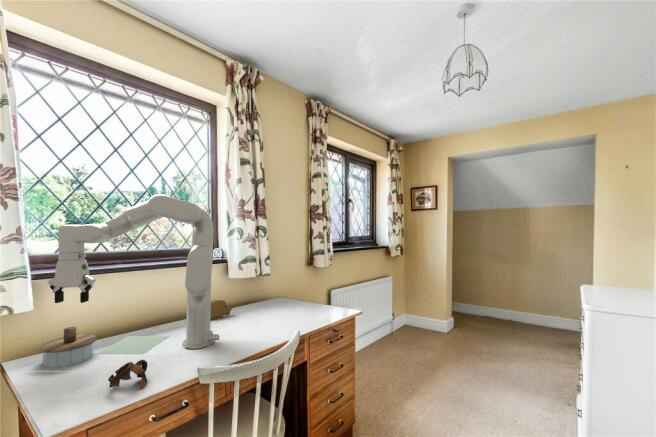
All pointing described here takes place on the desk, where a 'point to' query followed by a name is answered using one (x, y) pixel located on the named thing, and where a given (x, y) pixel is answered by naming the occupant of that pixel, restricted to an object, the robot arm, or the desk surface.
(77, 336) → the walnut lid
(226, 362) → the desk surface
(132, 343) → the sage mat
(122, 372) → the brown animal figurine
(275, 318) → the desk surface
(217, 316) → the wooden carving
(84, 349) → the slate bowl
